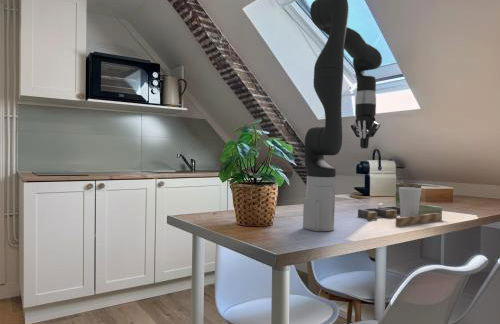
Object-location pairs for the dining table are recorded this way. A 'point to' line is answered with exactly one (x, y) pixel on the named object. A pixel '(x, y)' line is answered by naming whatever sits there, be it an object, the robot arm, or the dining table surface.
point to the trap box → (424, 215)
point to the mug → (405, 186)
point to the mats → (385, 217)
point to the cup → (409, 201)
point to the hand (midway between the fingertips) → (364, 148)
